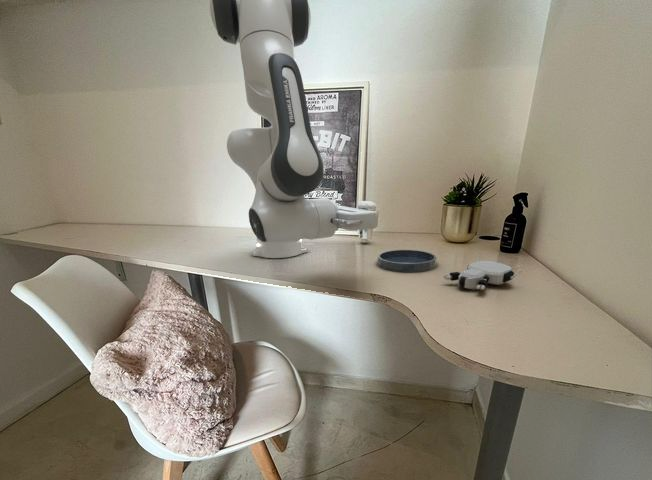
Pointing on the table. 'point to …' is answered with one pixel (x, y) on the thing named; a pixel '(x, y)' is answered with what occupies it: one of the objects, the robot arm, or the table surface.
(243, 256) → the table surface
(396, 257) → the blue round tray
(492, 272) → the robot toy
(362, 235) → the salt shaker
